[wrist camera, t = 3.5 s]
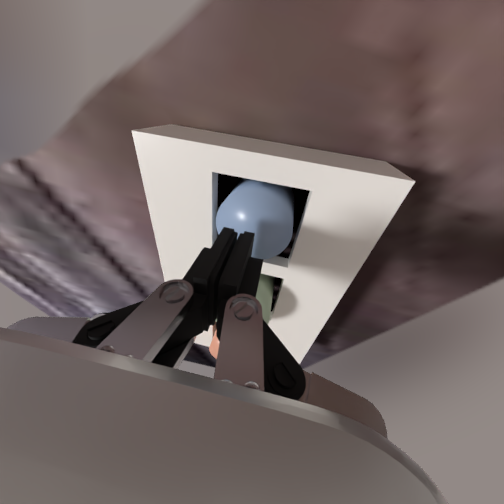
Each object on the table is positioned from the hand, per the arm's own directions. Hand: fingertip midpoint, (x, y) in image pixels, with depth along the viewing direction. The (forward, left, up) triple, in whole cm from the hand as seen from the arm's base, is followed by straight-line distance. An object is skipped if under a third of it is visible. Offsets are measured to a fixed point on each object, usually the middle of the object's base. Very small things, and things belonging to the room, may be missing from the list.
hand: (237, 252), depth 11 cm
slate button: (+1, 0, -6) cm, 6 cm away
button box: (-6, 0, -6) cm, 8 cm away
